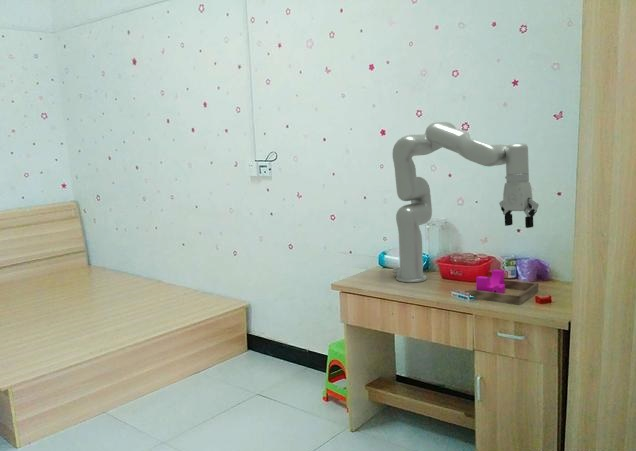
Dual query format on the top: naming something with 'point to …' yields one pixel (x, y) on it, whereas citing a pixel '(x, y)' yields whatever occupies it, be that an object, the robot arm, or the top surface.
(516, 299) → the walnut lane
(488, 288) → the toy block
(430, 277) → the top surface
